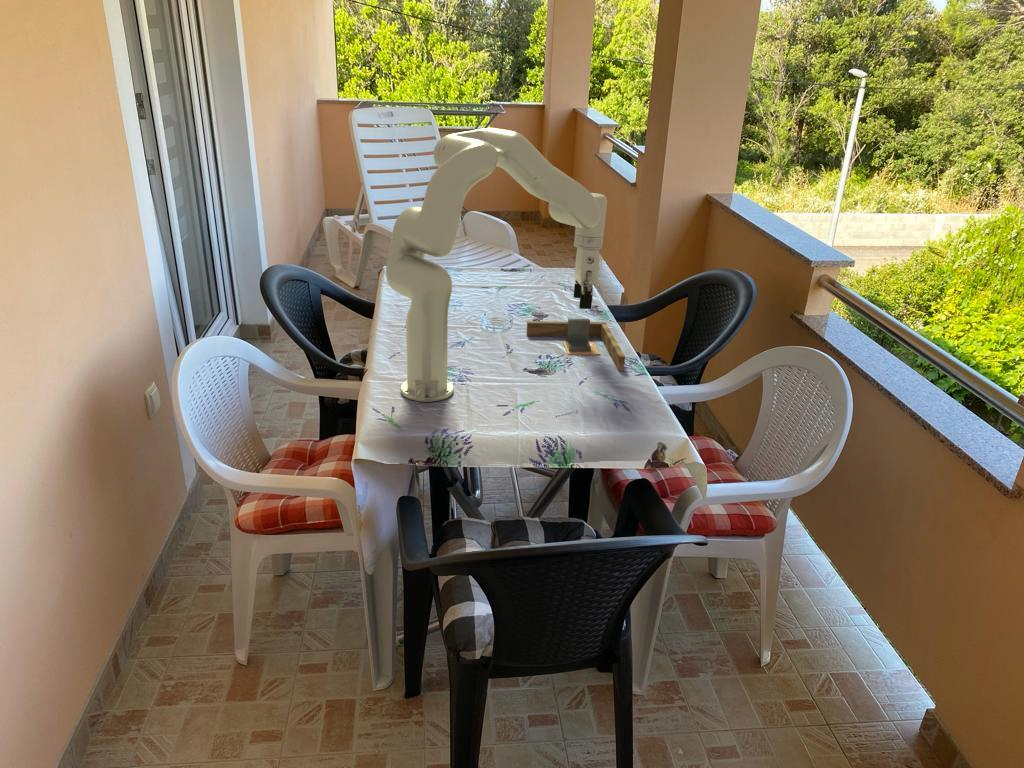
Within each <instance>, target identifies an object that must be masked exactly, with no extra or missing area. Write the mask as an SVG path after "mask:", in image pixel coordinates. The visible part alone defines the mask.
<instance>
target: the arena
mask: <svg viewBox="0 0 1024 768" xmlns="http://www.w3.org/2000/svg"><path fill="white" fill-rule="evenodd" d="M567 324H568V321H543V320H542V321H538V320H537V321H536V320H527V321H526V337H566V336H567ZM591 337H592V338H600V339H601V341H602V343H603V345H604V347H605V348H606V351H607V353H608V354H609V356H610V358H611V360H612V363H613V364H614V366H615V368H616V369H617V371H618V372H621V371H623V372H624V370H625V364H626V363H625V362H626V356H625V353H624V352H623V350H622V348H621V346H620V345H619V343H618V342H617V339H616V338H615V337H614V334H613V333H612V331H611V329H610V328H609V325H608V324H607V322H605V321H590V327H589V338H591Z"/></svg>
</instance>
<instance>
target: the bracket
mask: <svg viewBox="0 0 1024 768" xmlns="http://www.w3.org/2000/svg"><path fill="white" fill-rule="evenodd" d="M567 322H568V324H567V336H565V338H566V339H565V340H566V341H565V342H566V345H567V348H568V350H569V352H591V346H590V344H589V342H590V341H589V338H590V337H589V327H590V322H591V320H590V318H567Z"/></svg>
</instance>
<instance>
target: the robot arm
mask: <svg viewBox="0 0 1024 768" xmlns="http://www.w3.org/2000/svg"><path fill="white" fill-rule="evenodd" d="M433 160H434V163H435V165H436V166H437V169H436V170H435V172H434V173H433V174H432V175H431V177H430V179H429V181H428V183H427V187H426V190H425V195H424V198H423V203H422V207H421V206H410V207H408V208H406V209H404V210H403V211H402V212H400V214H399V215H398V216H397V219H396V220H395V222H394V225H393V230H392V232H391V233H392V234H391V240H390V244H389V249H388V254H387V260H386V267H385V277H386V281H387V284H388V286H389V288H391V289H392V290H393V291H395V292H396V293H398V294H400V295H401V296H404V297H406V298H408V299H410V303H411V304H410V305H409V309H408V312H407V314H406V321H405V328H406V329H405V330H406V377H407V378H406V380H405V381H404V382H403V383H402V384H401V385H400V393H401V394H402V396H404V397H405V398H407V399H409V400H412V401H415V402H421V403H423V402H425V403H430V402H431V403H432V402H438V401H439V402H440V401H442V400H446V399H448V398H449V397H451V396H452V395H453V394H454V391H455V389H454V388H455V387H454V384H453V383H452V382H451V381H450V380H448V353H449V352H448V350H449V349H448V347H449V346H448V345H449V344H448V339H449V338H448V334H449V332H448V331H449V330H448V328H449V327H448V324H449V323H448V322H449V308H450V302H451V299H452V298H451V297H452V291H453V280H452V277H451V275H450V272H449V271H447V270H446V268H444V267H443V266H441V265H440V264H438V263H435V262H433V261H431V260H428V259H425V255H428V256H431V257H435V258H436V257H437V258H443V257H446V256H448V255H449V254H450V253H451V252H452V250H453V249H454V246H455V243H456V239H457V233H458V229H459V223H460V219H461V215H462V210H463V206H464V202H465V199H466V197H467V195H468V193H469V192H470V190H471V189H472V188H473V187H474V186H475V185H477V183H479V182H481V181H482V180H484V179H485V178H487V177H489V176H490V175H491V174H492V173H493V172H494V171H495V170H496V167H497V168H500V169H502V170H503V171H505V172H506V173H507V174H508V175H509V176H510V177H511V178H512V179H513V180H514V181H516V182H517V183H518V184H519V185H520V187H522V188H523V190H525V191H526V193H529V195H532V196H534V197H535V198H537V199H540V200H542V201H544V202H547V203H549V204H548V213H549V215H550V216H551V218H552V220H555V221H556V222H558V223H561V224H565V225H569V226H573V227H575V232H574V242H573V247H575V248H576V255H575V264H574V279H575V282H574V287H573V288H574V289H573V298H574V299H579V305H578V307H579V309H580V310H582V309H583V310H591V309H592V305H593V294H594V288H593V286H594V287H597V286H598V281H599V271H600V270H599V267H600V266H599V265H600V250H601V249H602V248H603V243H604V231H605V227H606V226H605V225H606V224H605V223H606V217H607V216H606V215H607V208H608V207H607V206H608V198H607V197H606V195H604V194H602V193H597V192H596V193H595V192H590V191H589V190H588V189H587V188H586V187H585V186H583V185H582V184H581V183H580V182H578V181H577V180H575V179H573V178H572V177H571V176H569V175H567V174H566V172H563V171H562V170H560V169H559V168H557V167H555V166H554V165H553V164H552V163H551V162H550V161H549V160H548V159H547V158H546V157H545V156H544V155H543V154H542V153H541V152H540V151H539V150H538V149H537V148H536V147H535V146H534V145H533V143H531V142H530V141H529V139H527V138H526V137H525V136H524V135H523V134H522V133H520V132H517V131H516V130H515V131H514V130H511V129H503V128H497V127H486V128H478V129H474V130H467V131H461V132H456V133H455V132H454V133H451V134H447V135H444V136H443V137H441V138H440V139H439V140H438V141H437V142H436V143H435V146H434V149H433Z"/></svg>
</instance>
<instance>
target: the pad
mask: <svg viewBox="0 0 1024 768" xmlns="http://www.w3.org/2000/svg"><path fill="white" fill-rule="evenodd" d="M562 344H563V347H564V349H565V351H566V354H567V355H568V356H571V355H573V356H600V355H601V353H600V351H599V348H598V347H597V345H596V343H595V341H589V344H590V346H591V352H569V350H568V348H567V345H566V341H562Z"/></svg>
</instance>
